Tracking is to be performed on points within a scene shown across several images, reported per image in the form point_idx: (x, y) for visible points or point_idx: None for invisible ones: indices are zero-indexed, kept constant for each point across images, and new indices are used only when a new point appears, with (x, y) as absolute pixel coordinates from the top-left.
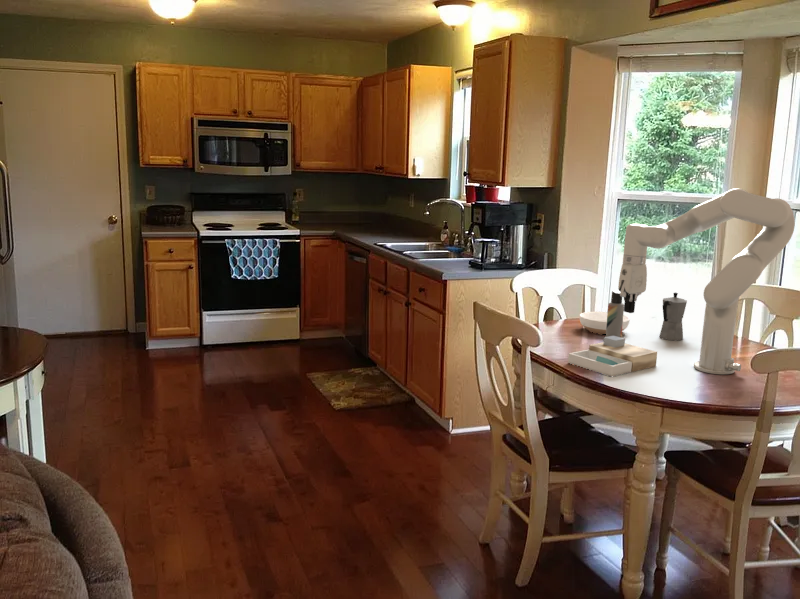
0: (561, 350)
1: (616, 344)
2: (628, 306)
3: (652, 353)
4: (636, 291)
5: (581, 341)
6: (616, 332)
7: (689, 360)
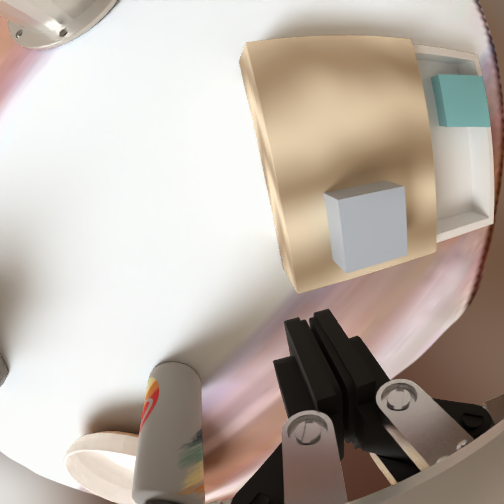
0: (397, 336)
1: (386, 183)
2: (371, 359)
3: (285, 38)
4: (478, 477)
5: (267, 407)
6: (178, 394)
7: (46, 103)
